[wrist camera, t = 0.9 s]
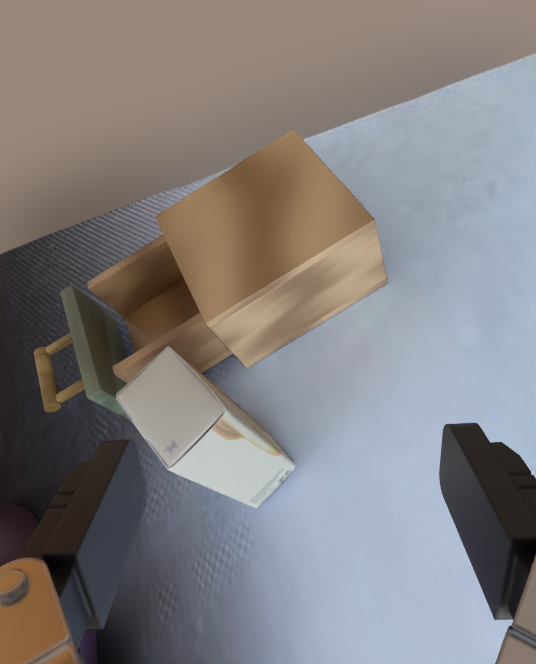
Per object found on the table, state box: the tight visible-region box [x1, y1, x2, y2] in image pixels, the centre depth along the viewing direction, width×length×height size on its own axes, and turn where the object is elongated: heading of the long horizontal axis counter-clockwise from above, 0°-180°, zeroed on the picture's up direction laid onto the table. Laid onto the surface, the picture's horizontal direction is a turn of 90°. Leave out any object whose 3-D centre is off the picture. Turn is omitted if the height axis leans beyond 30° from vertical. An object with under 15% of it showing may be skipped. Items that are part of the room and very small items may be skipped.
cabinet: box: [155, 130, 388, 368], centre depth 39 cm, size 13×12×8 cm
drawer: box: [34, 235, 233, 421], centre depth 39 cm, size 17×11×6 cm, turn 117°
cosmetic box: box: [116, 346, 296, 508], centre depth 30 cm, size 6×4×12 cm
